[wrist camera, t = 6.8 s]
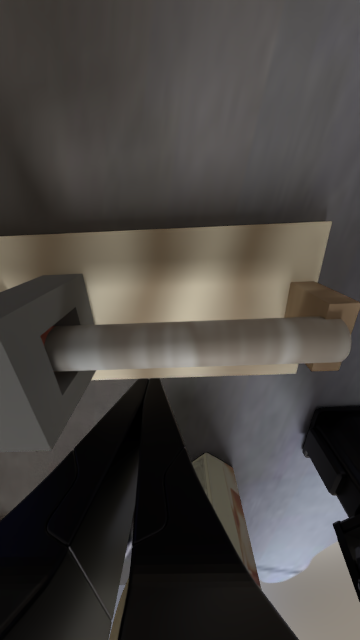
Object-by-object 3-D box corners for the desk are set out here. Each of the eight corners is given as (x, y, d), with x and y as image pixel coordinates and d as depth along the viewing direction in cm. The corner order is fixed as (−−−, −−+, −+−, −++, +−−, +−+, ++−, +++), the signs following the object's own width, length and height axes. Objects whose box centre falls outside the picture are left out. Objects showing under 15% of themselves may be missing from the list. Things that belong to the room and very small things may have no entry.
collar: (82, 273, 13) (-8, 322, 7) (102, 359, 16) (51, 450, 10) (42, 275, 13) (-84, 325, 7) (69, 360, 16) (-4, 452, 10)
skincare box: (203, 487, 25) (217, 642, 16) (175, 472, 24) (171, 631, 15) (236, 467, 23) (273, 627, 14) (207, 449, 22) (226, 613, 13)
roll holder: (325, 221, 13) (423, 222, 8) (292, 368, 18) (339, 431, 12) (-32, 237, 13) (-167, 249, 8) (28, 377, 18) (-33, 440, 13)
